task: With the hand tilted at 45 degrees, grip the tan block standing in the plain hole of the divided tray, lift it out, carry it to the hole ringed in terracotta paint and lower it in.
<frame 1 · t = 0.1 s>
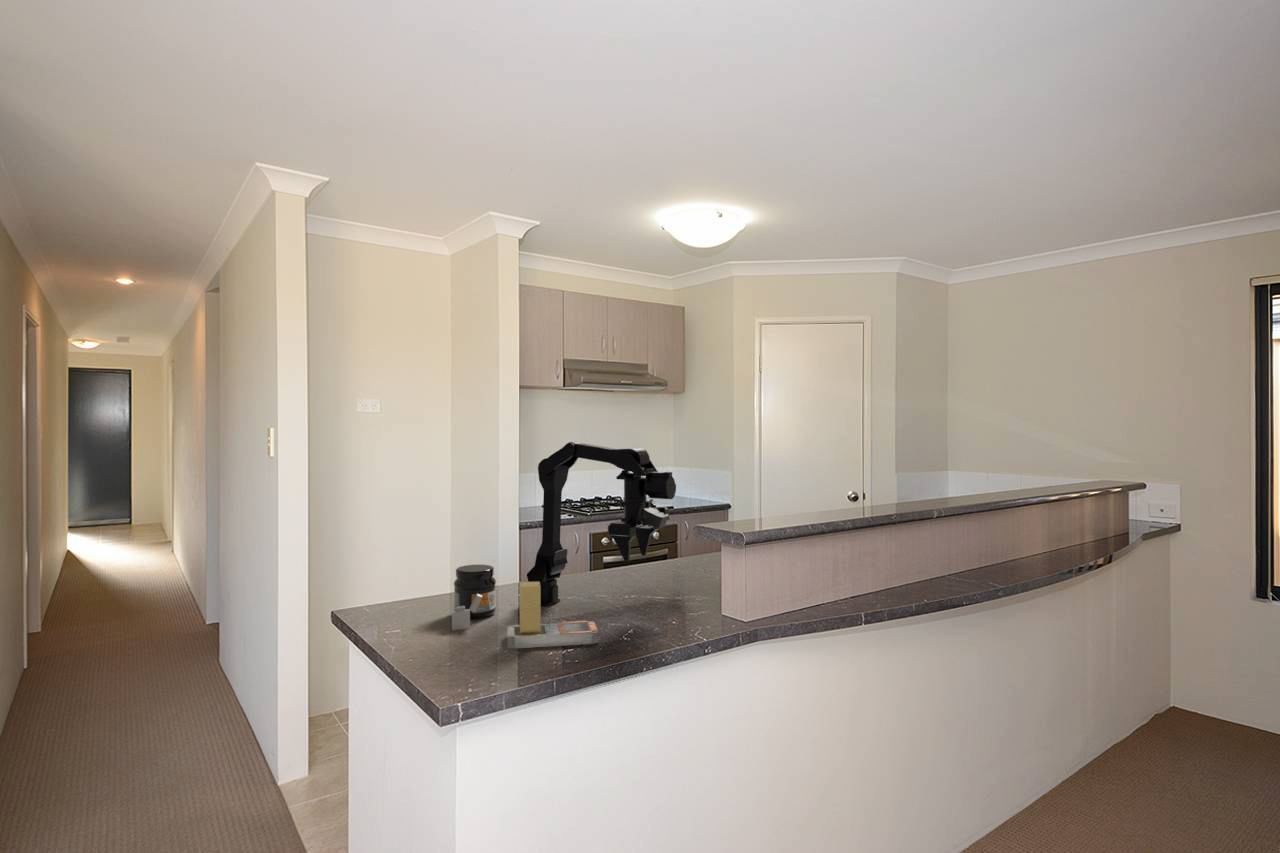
hand: (635, 558, 182), 15 cm above the counter, tool pointing down, fingers open, 9 cm apart
tan block: (530, 641, 161), resting in divided tray
supplement container: (475, 615, 183), on the counter
lighter: (467, 628, 171), on the counter
divided tray: (552, 639, 162), on the counter
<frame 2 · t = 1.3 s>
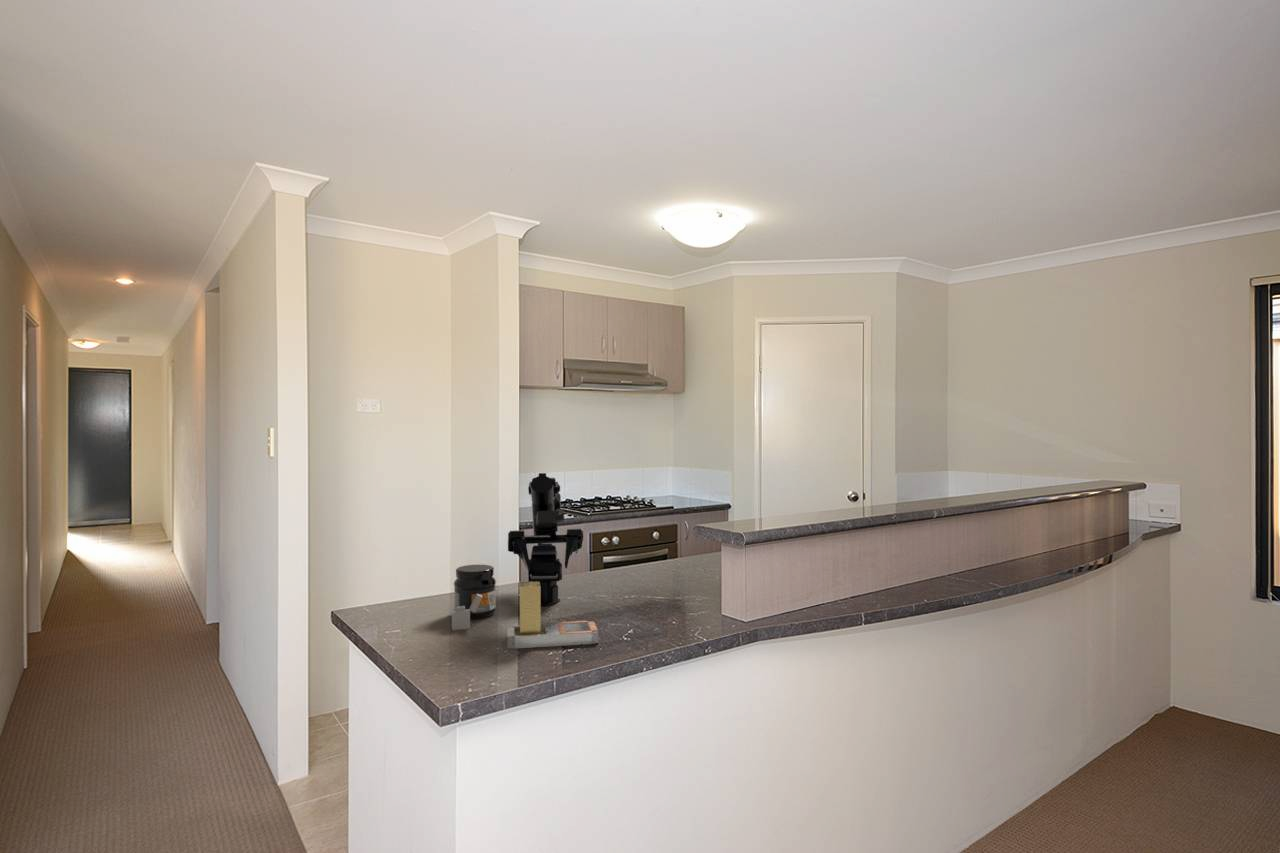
hand: (547, 568, 175), 14 cm above the counter, tool tilted 45°, fingers open, 9 cm apart
nothing on the counter moved.
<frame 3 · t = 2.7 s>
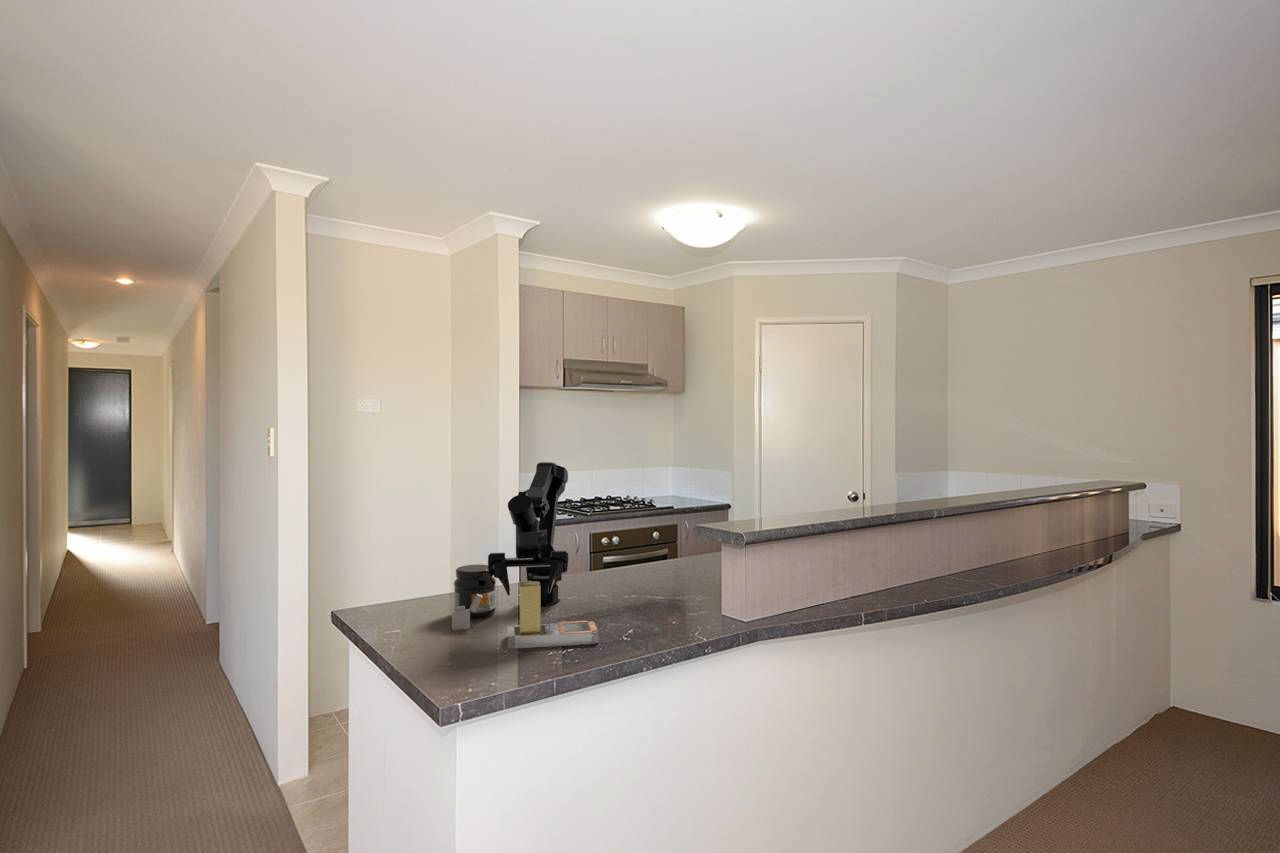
hand: (529, 593, 164), 10 cm above the counter, tool tilted 45°, fingers open, 9 cm apart
nothing on the counter moved.
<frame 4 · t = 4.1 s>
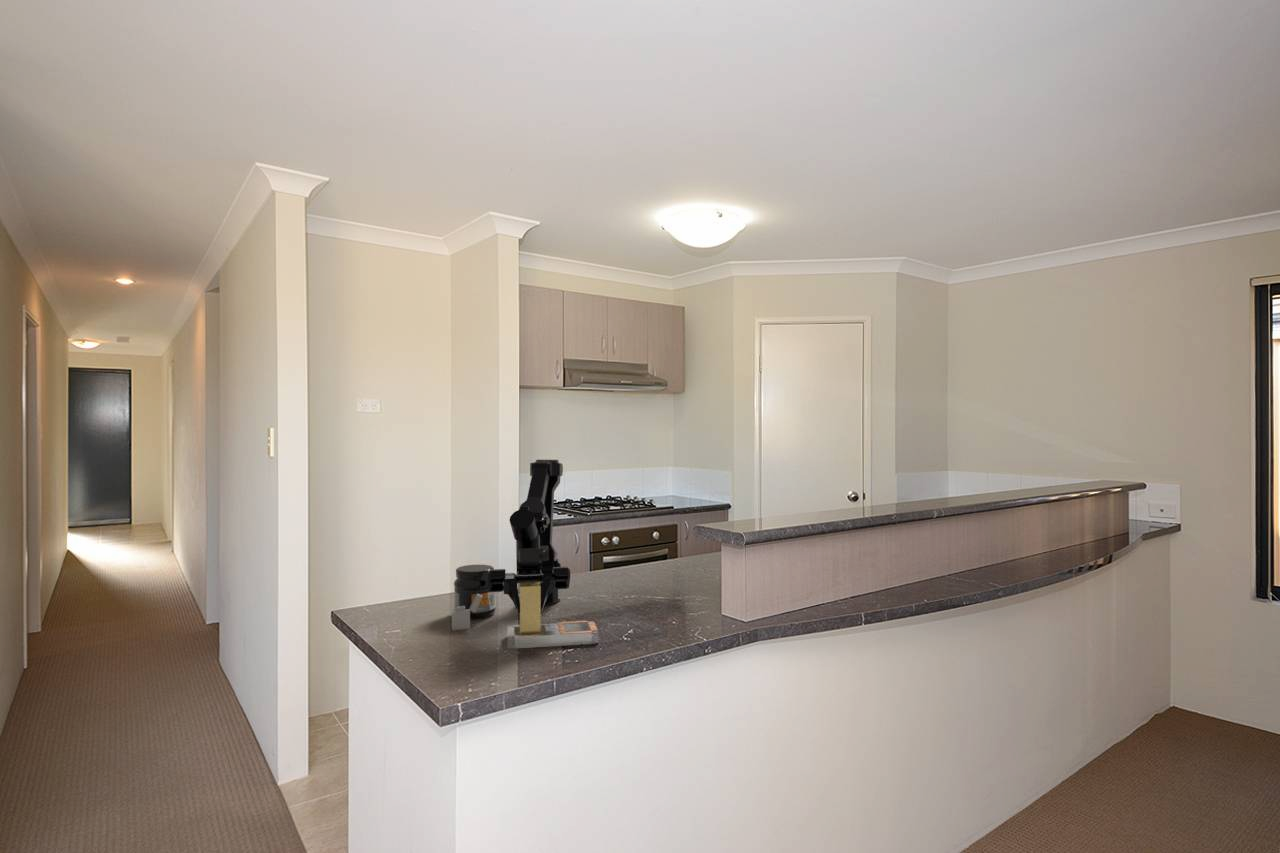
hand: (530, 611, 160), 7 cm above the counter, tool tilted 45°, fingers closed on tan block, 4 cm apart
tan block: (530, 641, 161), resting in divided tray, touching gripper
everything else where it was.
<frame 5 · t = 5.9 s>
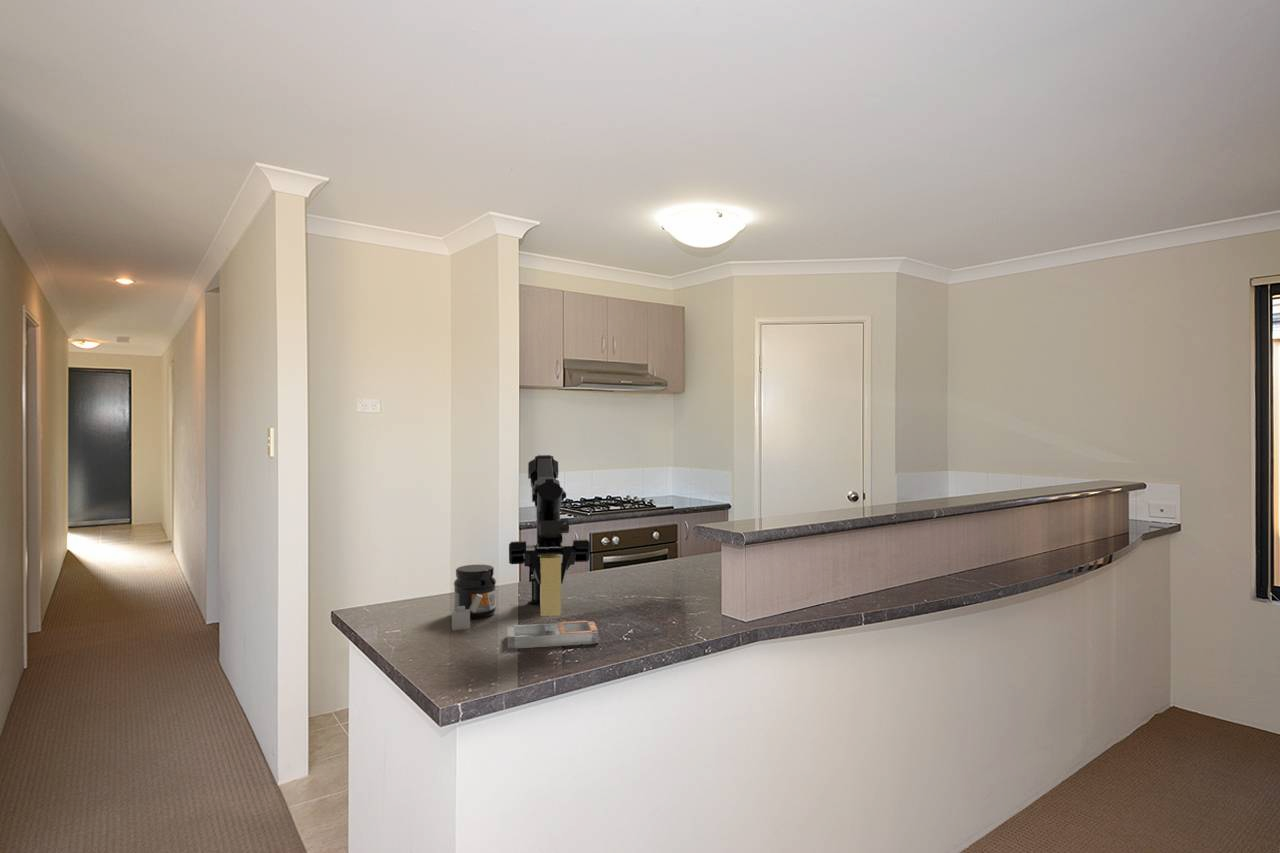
hand: (550, 583, 161), 13 cm above the counter, tool tilted 45°, fingers closed on tan block, 4 cm apart
tan block: (550, 612, 162), point 6 cm above the counter, touching gripper
everything else where it was.
when the fingers open (8 cm above the counter, at t = 7.9 s): tan block drops 1 cm, resting in divided tray.
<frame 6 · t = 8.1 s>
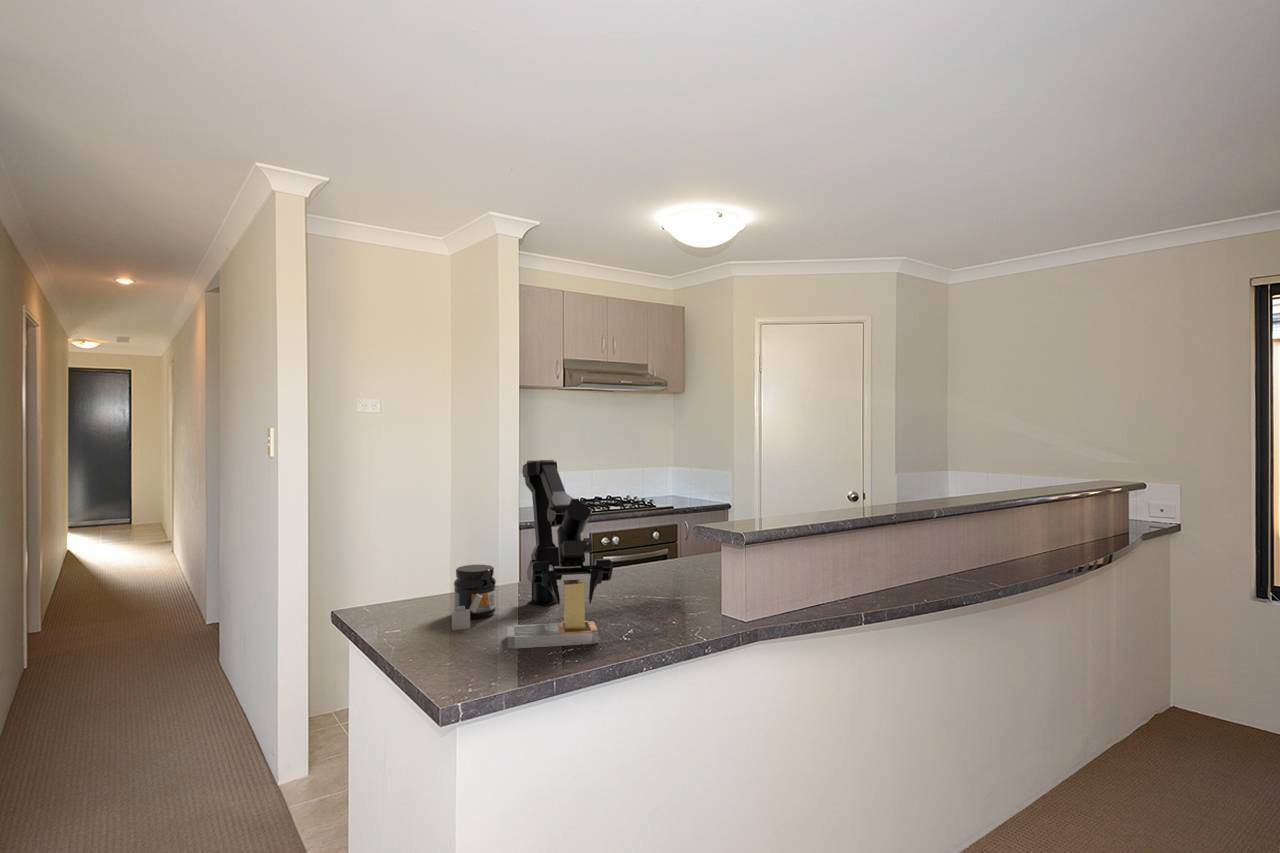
hand: (574, 603, 162), 9 cm above the counter, tool tilted 45°, fingers open, 7 cm apart
tan block: (574, 638, 163), resting in divided tray
everything else where it was.
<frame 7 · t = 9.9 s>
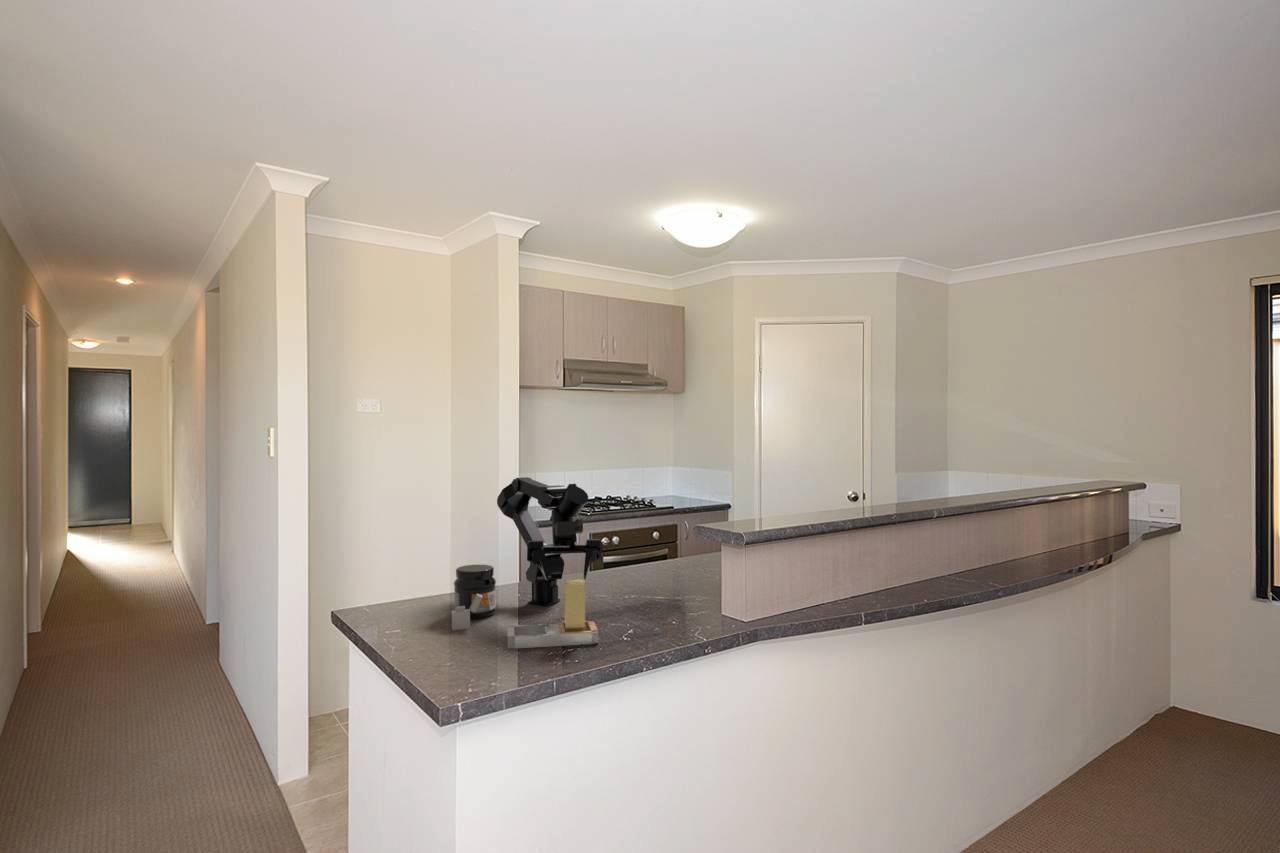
hand: (566, 579, 174), 11 cm above the counter, tool tilted 45°, fingers open, 9 cm apart
nothing on the counter moved.
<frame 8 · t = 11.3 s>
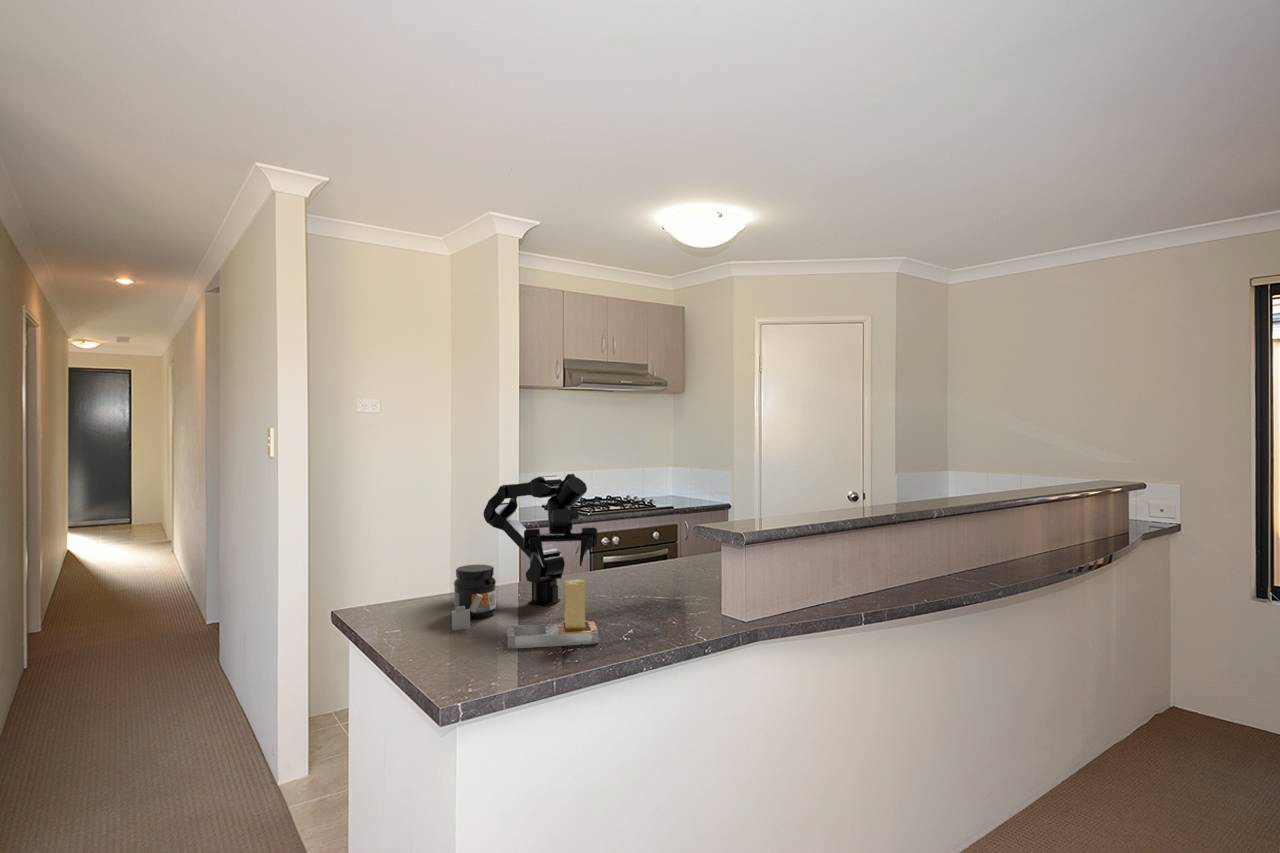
hand: (562, 566, 178), 14 cm above the counter, tool tilted 45°, fingers open, 9 cm apart
nothing on the counter moved.
at the end: tan block 0.3 cm from the target spot on the divided tray, point 0.0 cm above the divided tray's base; tan block tilted 0°; the gripper is holding nothing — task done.
